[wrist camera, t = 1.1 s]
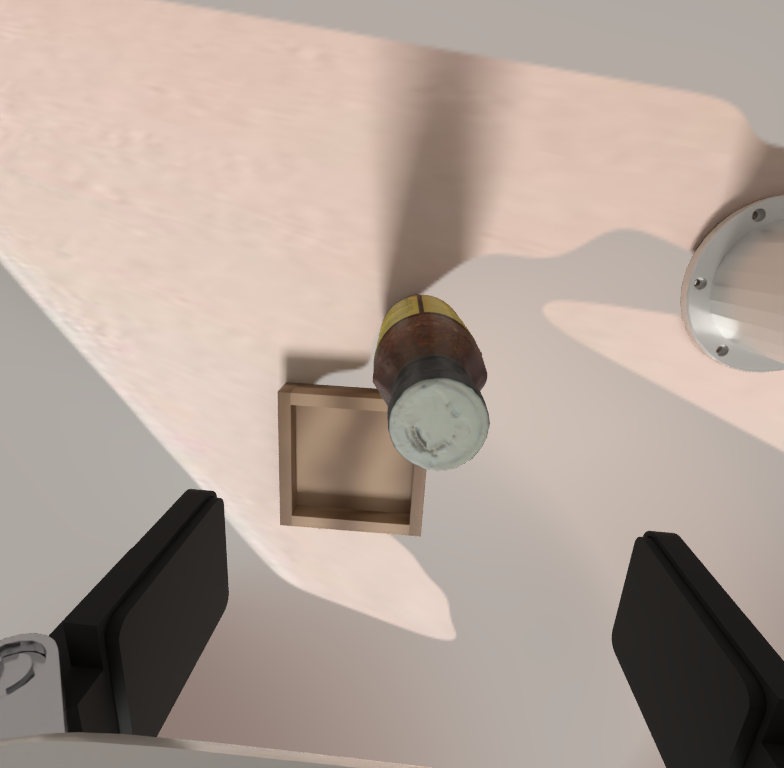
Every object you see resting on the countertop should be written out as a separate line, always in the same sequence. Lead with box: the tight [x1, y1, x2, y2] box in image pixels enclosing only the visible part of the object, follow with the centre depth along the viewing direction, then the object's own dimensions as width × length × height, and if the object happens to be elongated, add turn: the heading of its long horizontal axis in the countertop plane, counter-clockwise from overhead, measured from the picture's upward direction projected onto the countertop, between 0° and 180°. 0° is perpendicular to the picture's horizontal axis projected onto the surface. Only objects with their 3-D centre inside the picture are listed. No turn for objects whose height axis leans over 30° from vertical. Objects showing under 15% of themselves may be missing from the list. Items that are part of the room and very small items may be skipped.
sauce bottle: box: [373, 295, 490, 471], centre depth 28 cm, size 6×6×20 cm
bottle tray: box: [278, 383, 426, 536], centre depth 40 cm, size 12×12×2 cm
